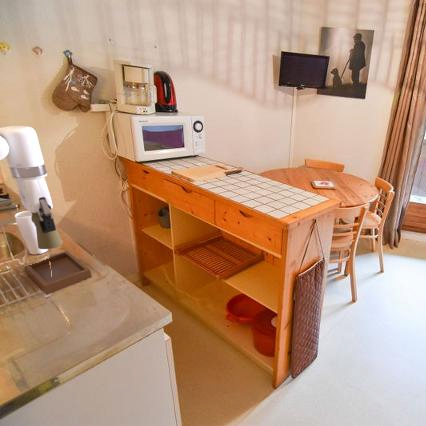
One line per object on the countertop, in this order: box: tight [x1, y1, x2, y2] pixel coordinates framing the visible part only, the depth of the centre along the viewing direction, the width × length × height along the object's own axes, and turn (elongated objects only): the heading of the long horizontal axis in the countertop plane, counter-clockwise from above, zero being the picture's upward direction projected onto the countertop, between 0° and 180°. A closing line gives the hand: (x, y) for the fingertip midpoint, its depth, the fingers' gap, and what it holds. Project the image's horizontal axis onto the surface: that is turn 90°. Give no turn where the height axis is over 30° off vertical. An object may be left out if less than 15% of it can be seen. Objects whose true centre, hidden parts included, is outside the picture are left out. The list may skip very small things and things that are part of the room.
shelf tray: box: [23, 250, 93, 295], centre depth 103 cm, size 18×12×3 cm, turn 55°
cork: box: [31, 212, 64, 250], centre depth 97 cm, size 6×6×11 cm
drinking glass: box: [14, 210, 49, 256], centre depth 112 cm, size 7×7×15 cm
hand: (45, 228), depth 97 cm, fingers closed on cork, 5 cm apart
